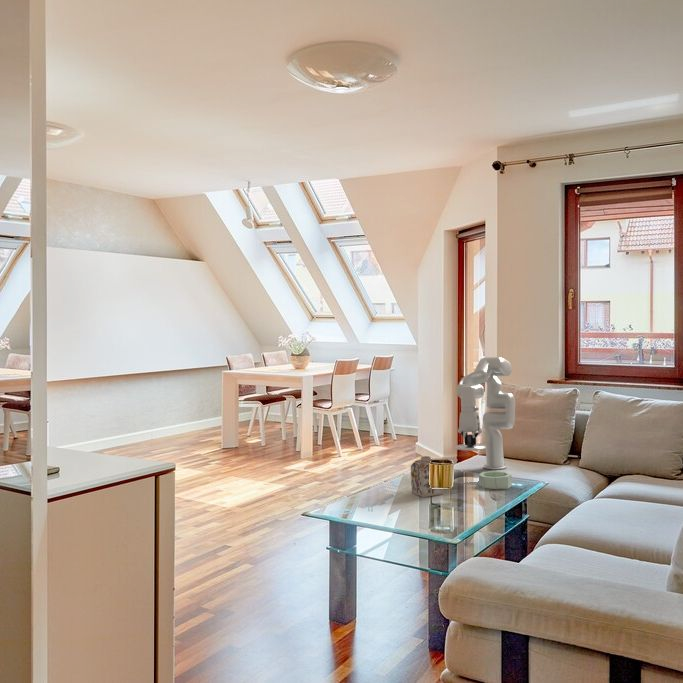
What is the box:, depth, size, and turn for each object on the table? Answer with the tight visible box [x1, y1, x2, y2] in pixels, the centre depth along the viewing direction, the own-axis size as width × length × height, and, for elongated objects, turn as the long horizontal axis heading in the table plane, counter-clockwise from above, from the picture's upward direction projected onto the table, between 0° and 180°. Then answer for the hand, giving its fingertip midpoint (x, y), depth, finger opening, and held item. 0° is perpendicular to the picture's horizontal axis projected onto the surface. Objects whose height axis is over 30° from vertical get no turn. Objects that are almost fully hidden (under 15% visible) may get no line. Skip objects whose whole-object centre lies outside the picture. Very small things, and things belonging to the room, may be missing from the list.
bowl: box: [478, 470, 513, 490], centre depth 338 cm, size 15×15×6 cm
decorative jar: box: [410, 455, 444, 498], centre depth 330 cm, size 12×12×18 cm
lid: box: [454, 433, 486, 452], centre depth 350 cm, size 16×16×7 cm
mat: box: [455, 481, 479, 486], centre depth 352 cm, size 17×17×1 cm
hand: (470, 444), depth 350 cm, fingers closed on lid, 3 cm apart
